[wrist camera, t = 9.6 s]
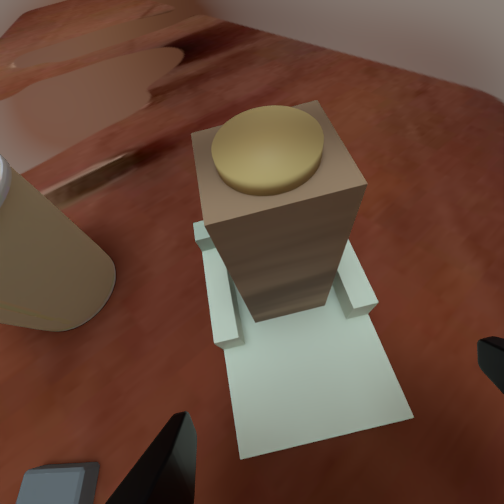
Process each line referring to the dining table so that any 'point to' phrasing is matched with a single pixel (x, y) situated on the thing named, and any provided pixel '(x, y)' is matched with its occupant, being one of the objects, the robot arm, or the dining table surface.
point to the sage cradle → (302, 362)
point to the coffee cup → (46, 262)
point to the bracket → (59, 484)
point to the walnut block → (278, 204)
